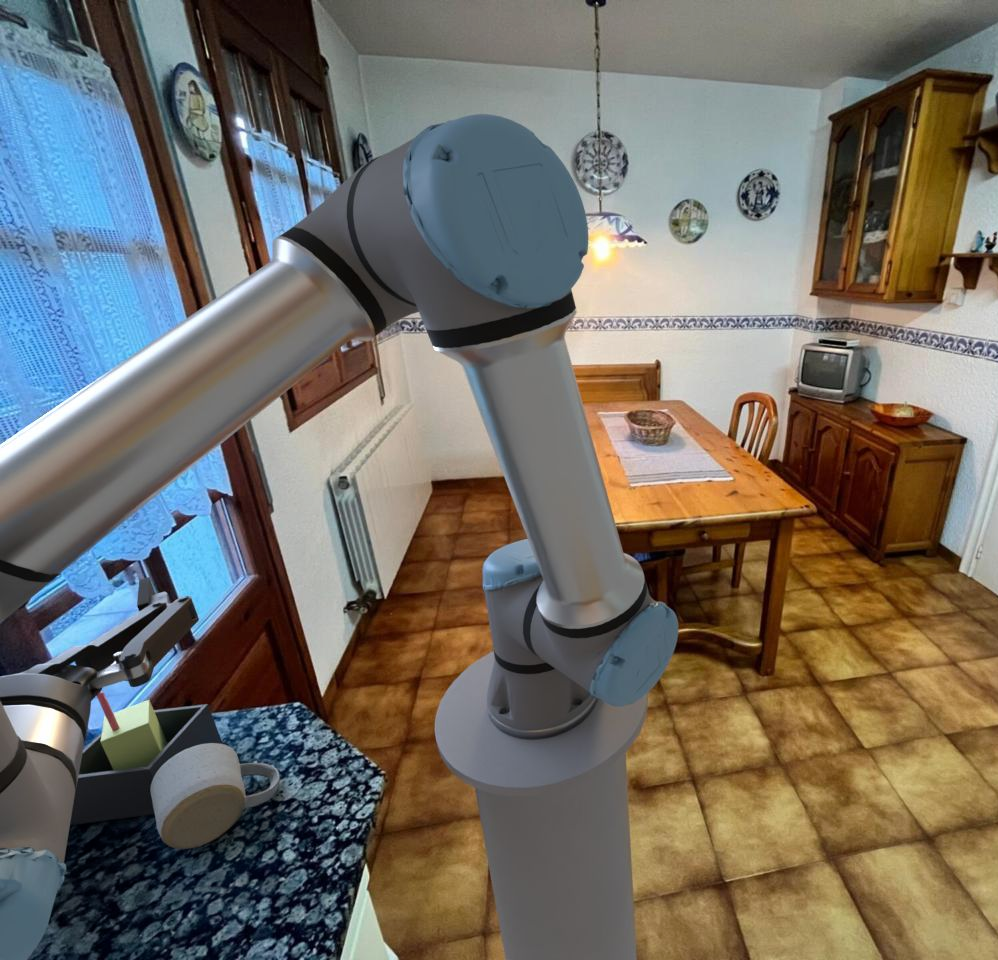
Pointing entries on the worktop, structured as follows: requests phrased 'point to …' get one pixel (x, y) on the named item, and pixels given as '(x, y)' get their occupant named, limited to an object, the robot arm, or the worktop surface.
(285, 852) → the worktop surface
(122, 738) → the juice box
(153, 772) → the bin
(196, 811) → the ceramic mug
